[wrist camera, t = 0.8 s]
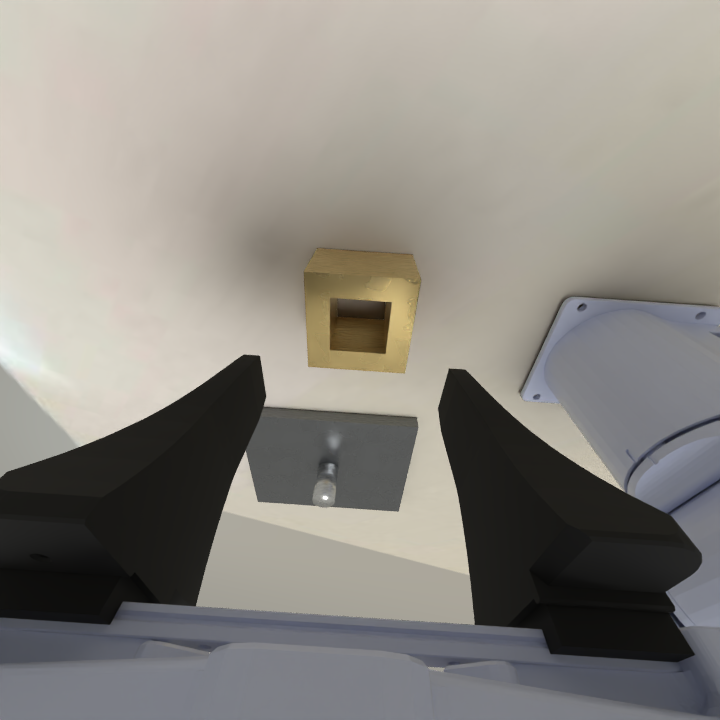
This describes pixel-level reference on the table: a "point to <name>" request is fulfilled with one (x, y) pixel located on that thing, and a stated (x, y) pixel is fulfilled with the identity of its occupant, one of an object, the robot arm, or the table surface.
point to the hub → (360, 335)
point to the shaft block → (331, 458)
